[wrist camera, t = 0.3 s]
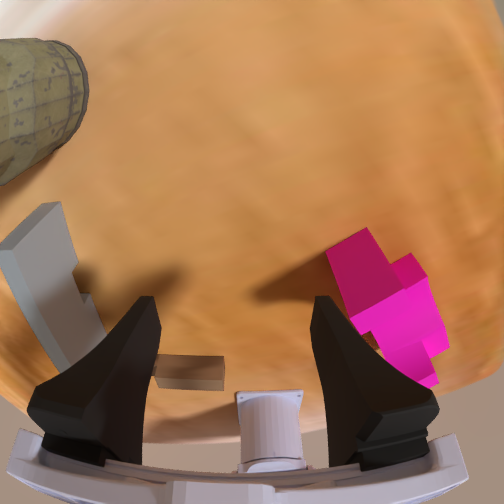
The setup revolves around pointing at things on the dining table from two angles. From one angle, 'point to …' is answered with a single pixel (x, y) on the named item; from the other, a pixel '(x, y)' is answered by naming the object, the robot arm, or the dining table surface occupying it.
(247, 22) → the dining table surface
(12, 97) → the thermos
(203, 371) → the walnut rail
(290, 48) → the dining table surface
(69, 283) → the slate plate
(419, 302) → the toy block
